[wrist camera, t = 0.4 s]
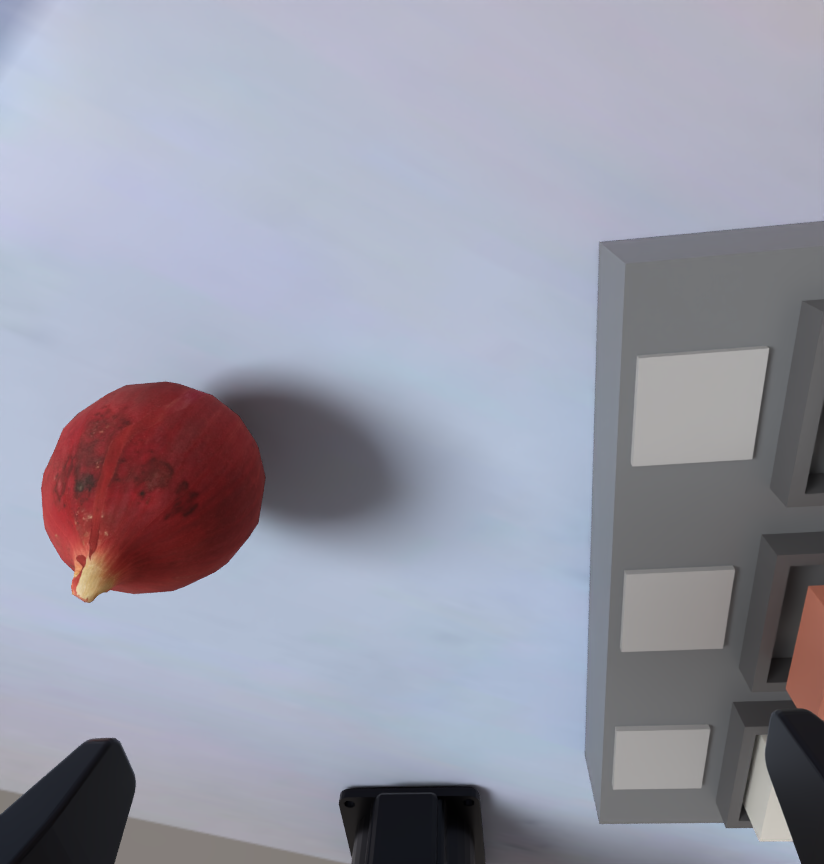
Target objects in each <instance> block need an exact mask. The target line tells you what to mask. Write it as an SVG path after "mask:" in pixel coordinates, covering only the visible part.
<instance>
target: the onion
mask: <svg viewBox="0 0 824 864" xmlns="http://www.w3.org/2000/svg"><path fill="white" fill-rule="evenodd" d="M265 478H266V477H265V473H264V468H263V464H262V460H261V456H260V452H259V448H258V446H257V444H256V442H255V440H254V438H253V437H252V435H251V434H250V432H249V430H248V429H247V427H246V426H245V424H244V423H243V421H242V420H241V418H240V417H239V416H238V415H237V414H236V413H235V412H233V411H232V410H231V409H229V408H228V407H227V406H226V405H224V404H223V403H222V402H220V401H219V400H218V399H217V398H215V397H214V396H213V395H210V394H207V393H204V392H201V391H198V390H195V389H193V388H190V387H187V386H184V385H181V384H177V383H171V382H157V383H145V384H134V385H126V386H124V387H121V388H119V389H117V390H115V391H113V392H111V393H109V394H107V395H105V396H104V397H102V398H101V399H99V400H98V401H96V402H95V403H93V404H92V405H90V406H89V407H87V408H86V409H84V410H83V411H81V412H80V413H78V414H77V415H76V416H75V417H74V418H73V419H72V420H71V421H70V422H69V423H68V424H67V425H66V427H65V428H64V429H63V430H62V433H61V435H60V438H59V440H58V443H57V445H56V448H55V450H54V452H53V454H52V456H51V459H50V461H49V463H48V465H47V467H46V469H45V471H44V474H43V481H42V487H41V492H42V507H43V519H44V525H45V530H46V532H47V534H48V536H49V538H50V540H51V542H52V544H53V545H54V547H55V549H56V550H57V552H58V554H59V555H60V557H61V559H62V560H63V561H64V562H65V563H66V564H67V565H68V566H69V567H70V568H71V569H72V570H73V571H74V578H73V580H72V585H71V589H72V594H73V595H75V596H76V597H78V598H79V599H81V600H82V601H84V602H88V603H90V602H92V601H93V600H94V599H95V598H96V597H97V596H98V595H99V594H101V593H103V592H108V591H109V590H113V591H119V592H125V593H132V594H140V593H154V592H166V591H174V590H177V589H179V588H182V587H185V586H187V585H189V584H191V583H193V582H195V581H197V580H200V579H202V578H204V577H206V576H208V575H210V574H212V573H214V572H216V571H217V570H219V569H220V568H221V567H223V566H224V565H225V564H227V563H228V562H229V561H230V559H231V558H232V557H233V556H234V555H235V553H236V552H237V551H238V550H239V549H240V547H241V546H242V545H243V544H244V543H245V541H246V540H247V539H248V538H249V536H250V535H251V533H252V532H253V530H254V529H255V527H256V526H257V524H258V522H259V516H260V510H261V504H262V498H263V492H264V485H265Z"/></svg>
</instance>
